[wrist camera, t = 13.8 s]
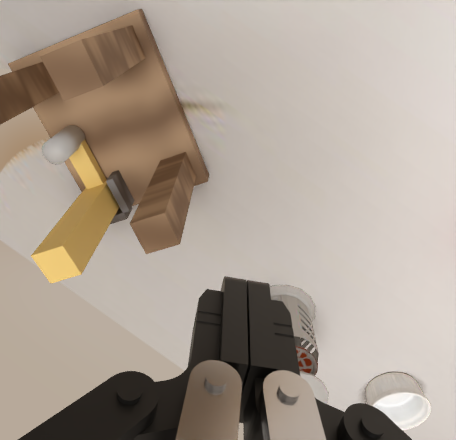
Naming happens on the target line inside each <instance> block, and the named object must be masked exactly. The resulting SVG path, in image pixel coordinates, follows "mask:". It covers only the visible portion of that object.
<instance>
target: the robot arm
mask: <svg viewBox="0 0 456 440" xmlns="http://www.w3.org/2000/svg"><path fill="white" fill-rule="evenodd" d="M239 422H240V423H244V440H412V439H411V438H410V437H409V436H408V435H407V434H406V433H404V432H403V431H402V430H401V429H400V428H399V427H398V426H397V425H396V424H395V423H394V422H393V421H392V420H391V419H390V418H389V417H388V416H387V415H385V414H384V413H383V412H382V411H380V410H379V409H377V408H375V407H373V406H371V405H367V404H362V403H358V404H353V405H351V406H349V407H348V408H347V409H346V411H345V412H343V411H341V410H338V409H336V408H334V407H332V406H329V405H327V404H325V403H323V402H321V401H320V400H318V399H316V398H315V396H314V393H313V390H312V388H311V386H310V385H309V384H308V382H307V381H306V380H305V379H303V378H302V377H301V376H300V370H299V364H298V357H297V351H296V345H295V339H294V332H293V328H292V320H291V314H290V312H289V310H288V309H287V307H286V306H285V304H284V303H283V301H277V300H271V294H270V285H269V284H268V283H261V282H255V281H249V280H247V282H246V280H244V279H237V278H231V277H224V279H223V283H222V288H221V291H215V290H209V289H207V290H206V291H205V292H204V293H203V294H202V296H201V297H200V298H199V302H198V307H197V312H196V317H195V323H194V328H193V333H192V341H191V348H190V355H189V362H188V368H187V369H186V370H185V371H184V373H182V374H181V375H179V376H178V377H176V378H173V379H170V380H166V381H160V382H154V381H153V380H152V379H151V378H150V377H149V376H147V375H145V374H143V373H140V372H136V371H127V372H122V373H119V374H116V375H114V376H113V377H111V378H109V379H108V380H107V381H105V382H104V383H102V384H101V385H99V386H98V387H96V388H95V389H93V390H92V391H90V392H89V393H87V394H86V395H84V396H83V397H81V398H80V399H78V400H77V401H75V402H74V403H72V404H71V405H69V406H68V407H66V408H65V409H63V410H62V411H60V412H59V413H57V414H56V415H54V416H53V417H51V418H50V419H48V420H47V421H45V422H44V423H42V424H41V425H39V426H38V427H36V428H35V429H33V430H32V431H30V432H29V433H27V434H26V435H24V436H23V437H21V438H20V439H18V440H238V429H239Z"/></svg>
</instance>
